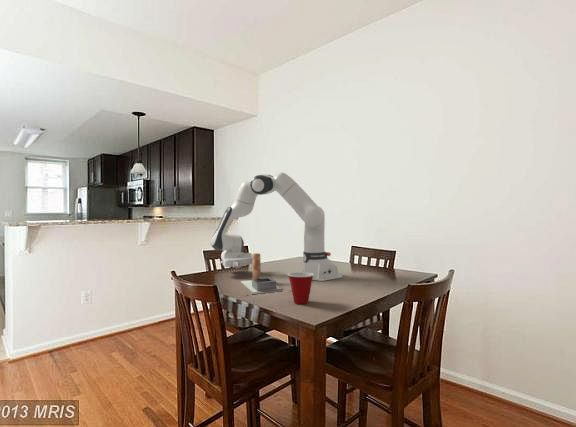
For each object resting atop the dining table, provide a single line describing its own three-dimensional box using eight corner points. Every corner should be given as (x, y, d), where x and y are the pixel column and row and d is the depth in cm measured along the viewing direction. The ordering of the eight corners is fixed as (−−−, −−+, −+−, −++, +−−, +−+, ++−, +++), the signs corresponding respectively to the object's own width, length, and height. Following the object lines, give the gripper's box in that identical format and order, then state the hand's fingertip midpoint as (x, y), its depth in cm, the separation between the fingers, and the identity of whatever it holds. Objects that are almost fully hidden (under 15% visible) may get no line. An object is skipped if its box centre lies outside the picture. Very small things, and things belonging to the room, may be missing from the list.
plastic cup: (314, 298, 139) (314, 270, 138) (314, 306, 128) (313, 276, 128) (289, 298, 140) (288, 270, 139) (286, 306, 129) (286, 275, 129)
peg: (259, 280, 166) (259, 253, 165) (261, 282, 162) (261, 254, 162) (251, 281, 164) (251, 253, 164) (253, 283, 160) (253, 254, 160)
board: (266, 281, 170) (266, 271, 170) (282, 291, 150) (281, 281, 150) (240, 284, 165) (240, 274, 165) (252, 295, 145) (252, 284, 145)
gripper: (218, 255, 179) (228, 259, 167) (252, 252, 189) (264, 255, 178) (219, 267, 179) (228, 271, 167) (253, 263, 190) (264, 267, 178)
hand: (247, 263), depth 172 cm, fingers open, 8 cm apart
